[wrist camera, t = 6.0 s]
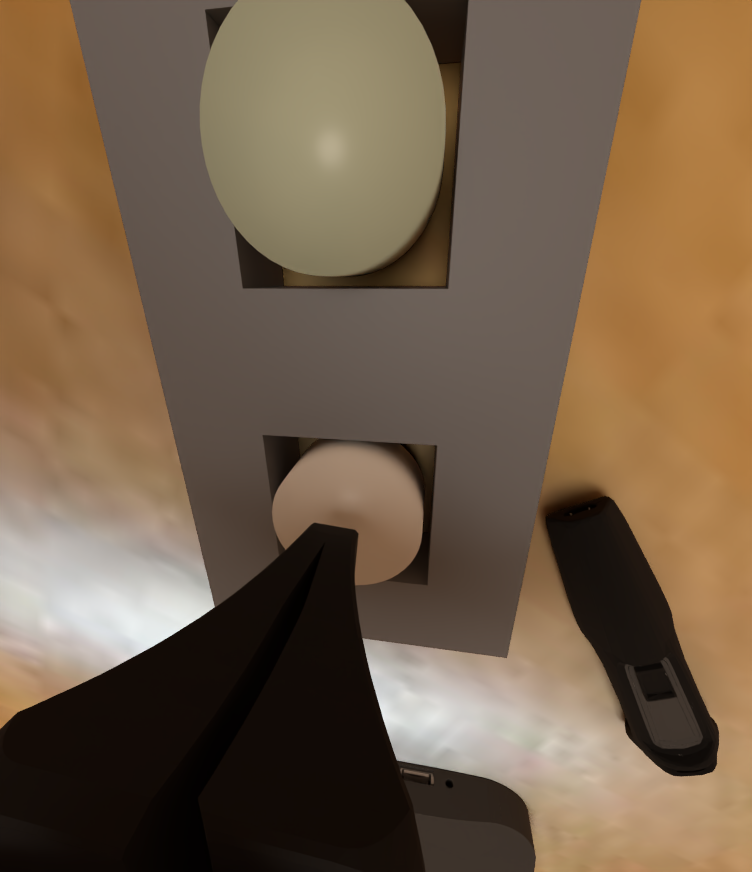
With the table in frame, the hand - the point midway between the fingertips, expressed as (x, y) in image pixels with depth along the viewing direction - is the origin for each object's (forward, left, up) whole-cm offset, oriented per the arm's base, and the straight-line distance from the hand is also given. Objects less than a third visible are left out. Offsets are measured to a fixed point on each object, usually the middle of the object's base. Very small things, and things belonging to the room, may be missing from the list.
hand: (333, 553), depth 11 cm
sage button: (0, +10, -3) cm, 10 cm away
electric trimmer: (+12, -7, -6) cm, 15 cm away
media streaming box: (+3, -28, -6) cm, 29 cm away
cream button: (0, 0, -4) cm, 4 cm away
